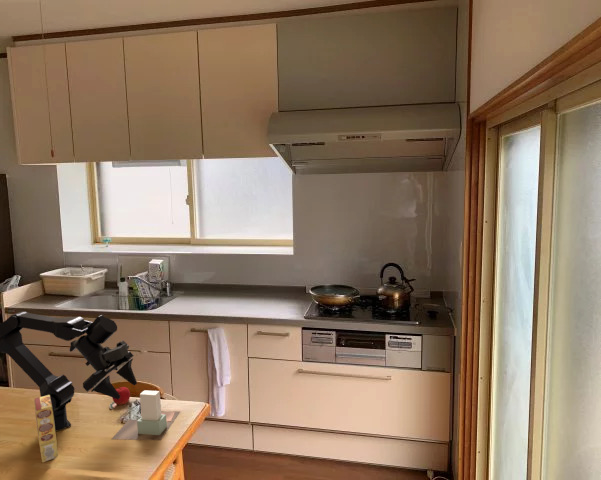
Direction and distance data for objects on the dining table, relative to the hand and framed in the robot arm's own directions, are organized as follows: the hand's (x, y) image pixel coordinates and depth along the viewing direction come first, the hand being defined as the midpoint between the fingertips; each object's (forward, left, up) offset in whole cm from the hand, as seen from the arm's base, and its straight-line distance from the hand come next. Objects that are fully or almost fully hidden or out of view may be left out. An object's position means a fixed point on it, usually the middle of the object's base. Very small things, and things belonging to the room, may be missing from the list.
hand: (127, 391), depth 136 cm
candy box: (-6, -21, -13) cm, 26 cm away
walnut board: (+2, +5, -13) cm, 14 cm away
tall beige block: (+6, +4, -12) cm, 14 cm away
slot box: (+6, +4, -12) cm, 14 cm away
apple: (-19, +5, -13) cm, 24 cm away
